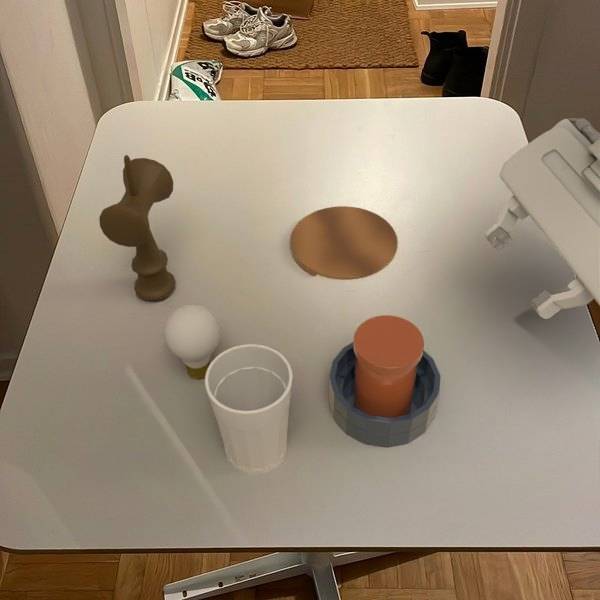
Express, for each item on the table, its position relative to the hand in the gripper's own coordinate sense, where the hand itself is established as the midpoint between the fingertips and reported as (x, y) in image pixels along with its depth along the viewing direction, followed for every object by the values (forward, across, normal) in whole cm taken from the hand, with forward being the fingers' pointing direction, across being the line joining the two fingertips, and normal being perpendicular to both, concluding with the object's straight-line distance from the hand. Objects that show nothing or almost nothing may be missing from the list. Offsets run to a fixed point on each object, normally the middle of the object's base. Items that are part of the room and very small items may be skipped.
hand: (513, 276), depth 69 cm
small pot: (+20, -1, +3) cm, 20 cm away
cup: (+30, +1, -6) cm, 31 cm away
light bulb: (+33, -10, -9) cm, 36 cm away
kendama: (+35, -25, -11) cm, 45 cm away
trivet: (+17, -26, +7) cm, 32 cm away
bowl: (+20, -1, +4) cm, 20 cm away
